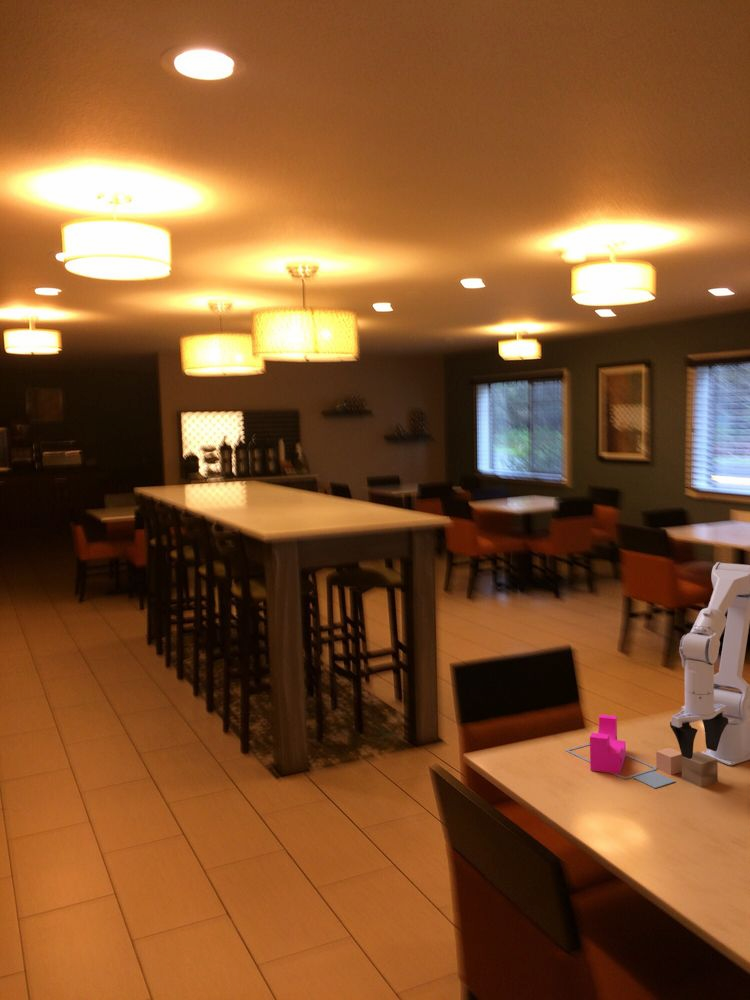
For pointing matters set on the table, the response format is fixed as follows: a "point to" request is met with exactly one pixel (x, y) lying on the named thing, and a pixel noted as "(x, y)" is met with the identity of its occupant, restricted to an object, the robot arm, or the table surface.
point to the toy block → (607, 747)
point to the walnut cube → (700, 769)
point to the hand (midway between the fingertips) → (699, 753)
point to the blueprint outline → (648, 778)
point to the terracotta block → (669, 761)
